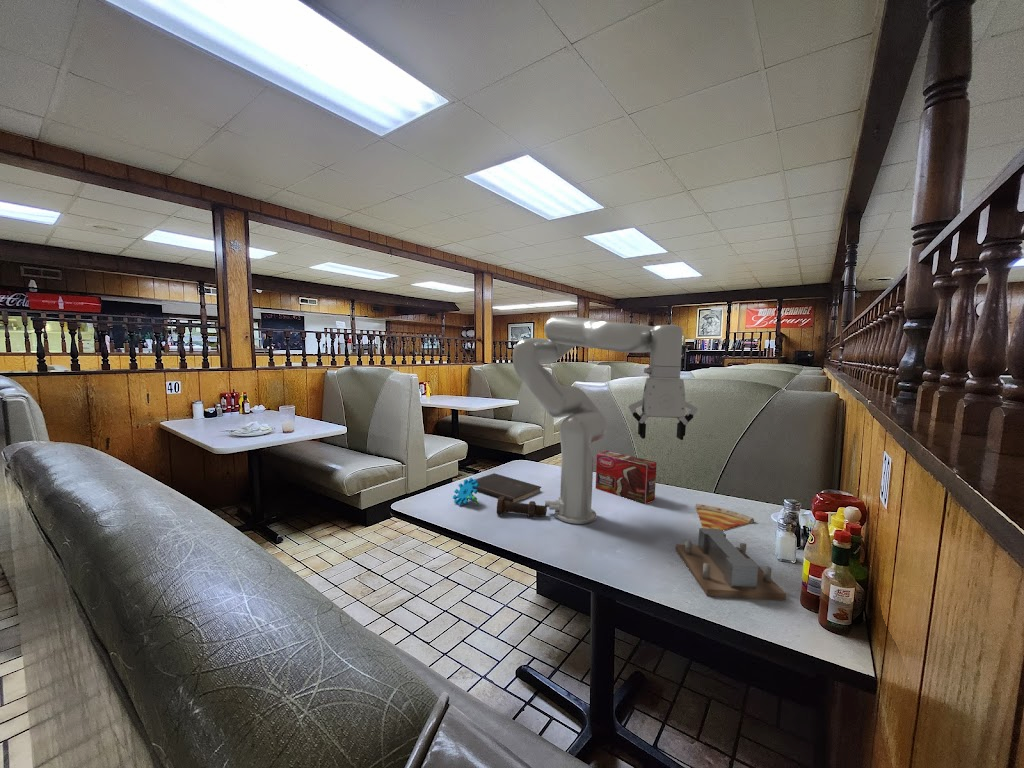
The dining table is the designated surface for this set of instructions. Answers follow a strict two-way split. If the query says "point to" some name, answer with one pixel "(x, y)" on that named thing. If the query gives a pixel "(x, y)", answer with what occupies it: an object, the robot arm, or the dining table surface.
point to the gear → (466, 492)
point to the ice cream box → (626, 476)
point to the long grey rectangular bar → (728, 559)
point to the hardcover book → (505, 487)
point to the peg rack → (714, 578)
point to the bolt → (520, 508)
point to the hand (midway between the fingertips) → (661, 438)
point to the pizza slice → (720, 518)
